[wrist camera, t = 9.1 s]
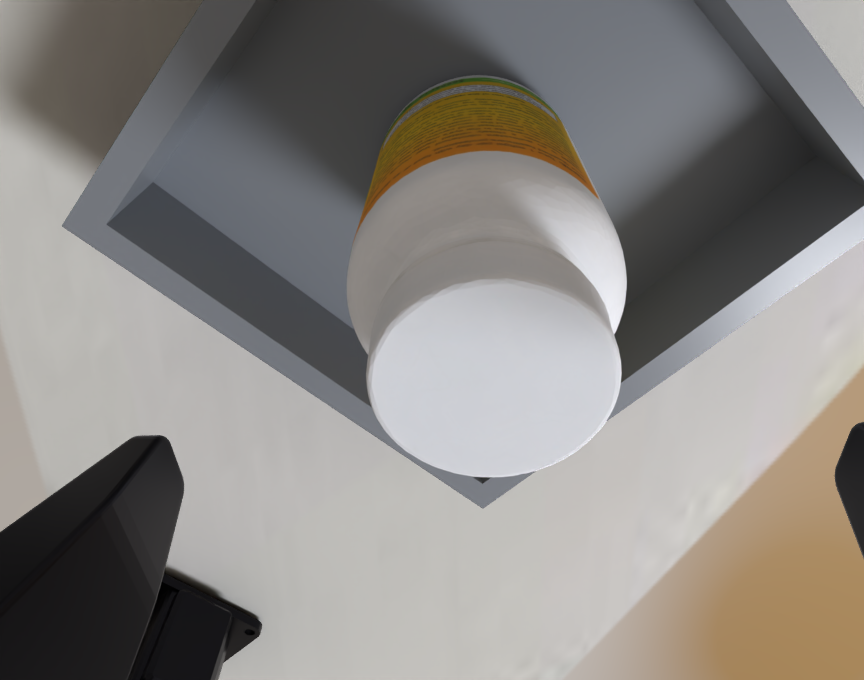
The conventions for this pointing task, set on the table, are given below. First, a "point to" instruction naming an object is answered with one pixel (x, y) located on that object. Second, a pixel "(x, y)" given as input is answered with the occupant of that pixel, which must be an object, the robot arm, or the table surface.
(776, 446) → the table surface
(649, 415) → the table surface
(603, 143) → the tray
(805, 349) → the table surface
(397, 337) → the supplement bottle
